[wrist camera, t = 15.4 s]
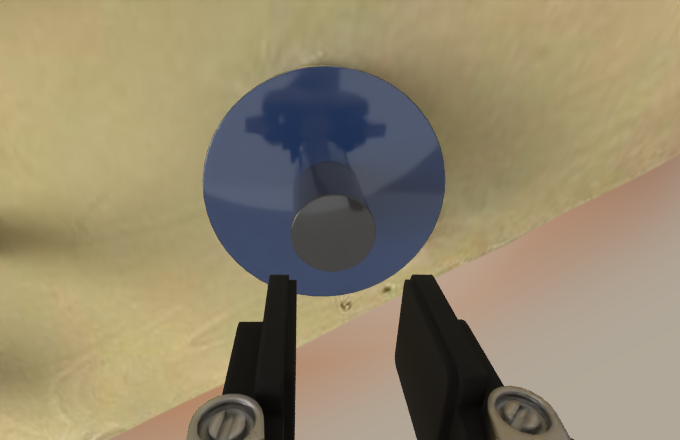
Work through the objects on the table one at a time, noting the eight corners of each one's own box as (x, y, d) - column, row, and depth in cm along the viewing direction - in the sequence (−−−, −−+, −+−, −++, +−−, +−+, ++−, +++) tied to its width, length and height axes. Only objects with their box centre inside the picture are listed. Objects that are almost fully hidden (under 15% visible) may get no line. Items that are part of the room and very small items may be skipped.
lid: (180, 247, 24) (141, 312, 18) (250, 19, 19) (229, 10, 14) (380, 309, 27) (402, 382, 21) (480, 123, 22) (541, 150, 17)
